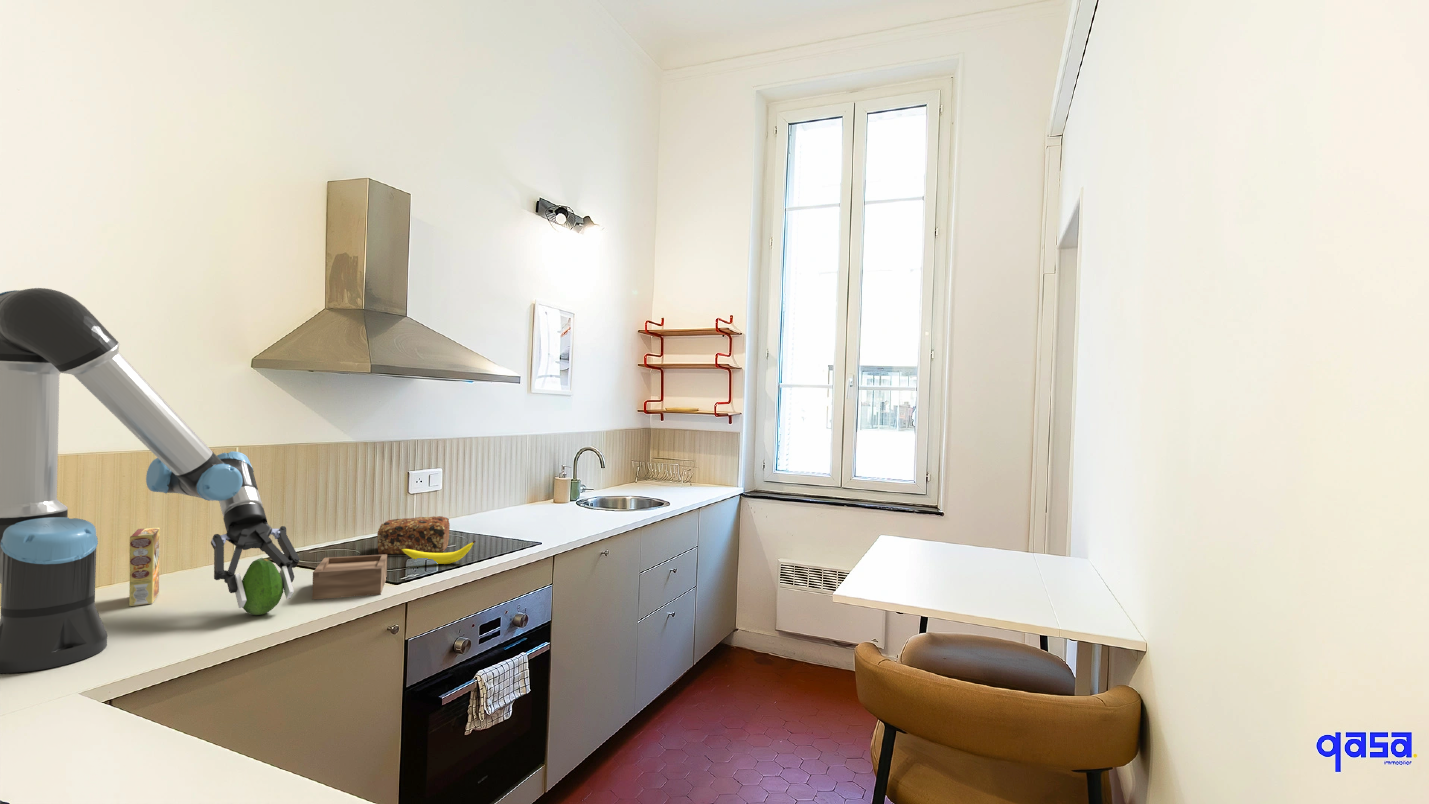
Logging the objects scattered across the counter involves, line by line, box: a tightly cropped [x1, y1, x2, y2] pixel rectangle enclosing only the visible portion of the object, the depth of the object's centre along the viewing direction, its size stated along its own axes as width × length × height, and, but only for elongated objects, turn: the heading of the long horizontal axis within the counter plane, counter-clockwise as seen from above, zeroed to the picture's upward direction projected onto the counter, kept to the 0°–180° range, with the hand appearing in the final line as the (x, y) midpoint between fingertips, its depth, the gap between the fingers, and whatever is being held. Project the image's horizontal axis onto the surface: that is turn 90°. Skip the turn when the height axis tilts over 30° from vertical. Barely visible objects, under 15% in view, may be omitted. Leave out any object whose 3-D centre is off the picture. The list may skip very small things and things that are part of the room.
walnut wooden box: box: [311, 554, 388, 600], centre depth 159 cm, size 14×14×6 cm
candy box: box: [128, 527, 161, 607], centre depth 146 cm, size 9×4×15 cm, turn 33°
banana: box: [401, 540, 476, 565], centre depth 182 cm, size 3×19×6 cm, turn 111°
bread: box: [376, 515, 451, 555], centre depth 198 cm, size 19×11×10 cm, turn 102°
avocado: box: [241, 557, 284, 616], centre depth 139 cm, size 8×8×12 cm
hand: (267, 599), depth 137 cm, fingers closed on avocado, 8 cm apart
